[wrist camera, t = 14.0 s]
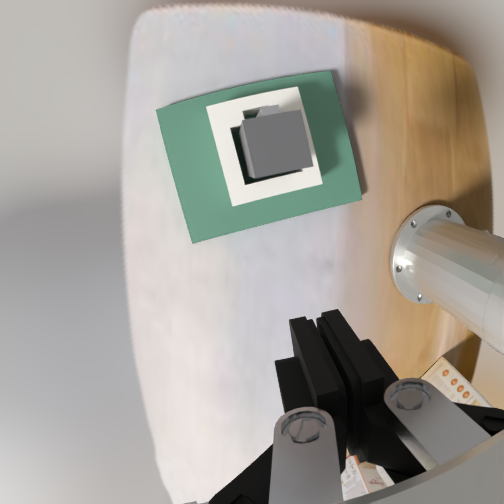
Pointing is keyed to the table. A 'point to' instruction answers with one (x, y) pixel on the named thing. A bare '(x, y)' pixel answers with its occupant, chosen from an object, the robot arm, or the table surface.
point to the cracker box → (360, 479)
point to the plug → (274, 142)
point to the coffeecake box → (453, 384)
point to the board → (211, 173)
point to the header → (223, 123)
